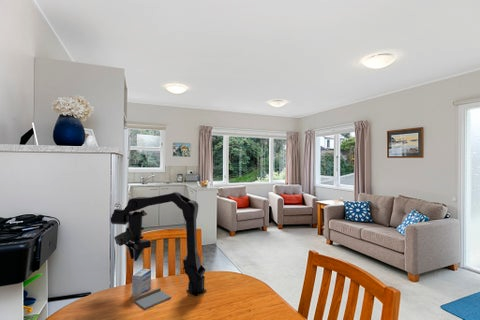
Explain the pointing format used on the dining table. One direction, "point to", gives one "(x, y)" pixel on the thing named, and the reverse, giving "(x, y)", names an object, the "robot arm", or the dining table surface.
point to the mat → (151, 298)
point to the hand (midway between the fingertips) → (133, 259)
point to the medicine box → (141, 282)
